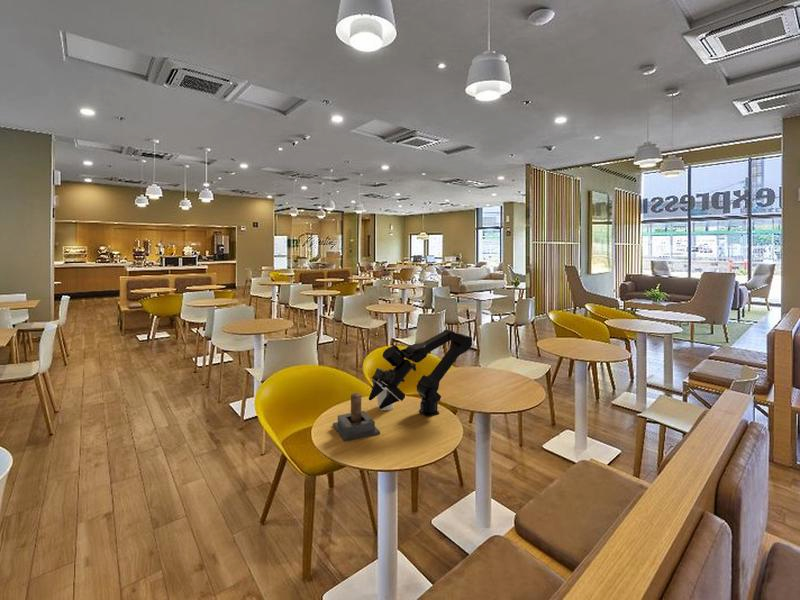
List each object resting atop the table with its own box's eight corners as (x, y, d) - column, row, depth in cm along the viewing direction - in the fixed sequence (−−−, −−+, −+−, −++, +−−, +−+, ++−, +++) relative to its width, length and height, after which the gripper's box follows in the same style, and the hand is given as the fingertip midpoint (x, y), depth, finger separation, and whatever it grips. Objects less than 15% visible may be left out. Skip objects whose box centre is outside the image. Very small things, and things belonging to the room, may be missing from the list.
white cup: (386, 413, 174) (387, 390, 172) (372, 408, 179) (372, 386, 177) (398, 407, 180) (398, 385, 179) (384, 402, 185) (384, 381, 183)
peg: (361, 425, 160) (362, 393, 158) (360, 429, 156) (360, 397, 154) (351, 424, 160) (351, 393, 158) (349, 429, 156) (350, 397, 154)
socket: (365, 419, 168) (366, 408, 167) (379, 434, 155) (380, 422, 155) (332, 425, 162) (332, 414, 161) (344, 441, 149) (344, 430, 148)
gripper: (376, 354, 169) (351, 384, 165) (398, 367, 153) (371, 401, 149) (392, 370, 174) (368, 399, 170) (416, 384, 158) (390, 417, 154)
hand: (374, 404), depth 161 cm, fingers open, 9 cm apart
